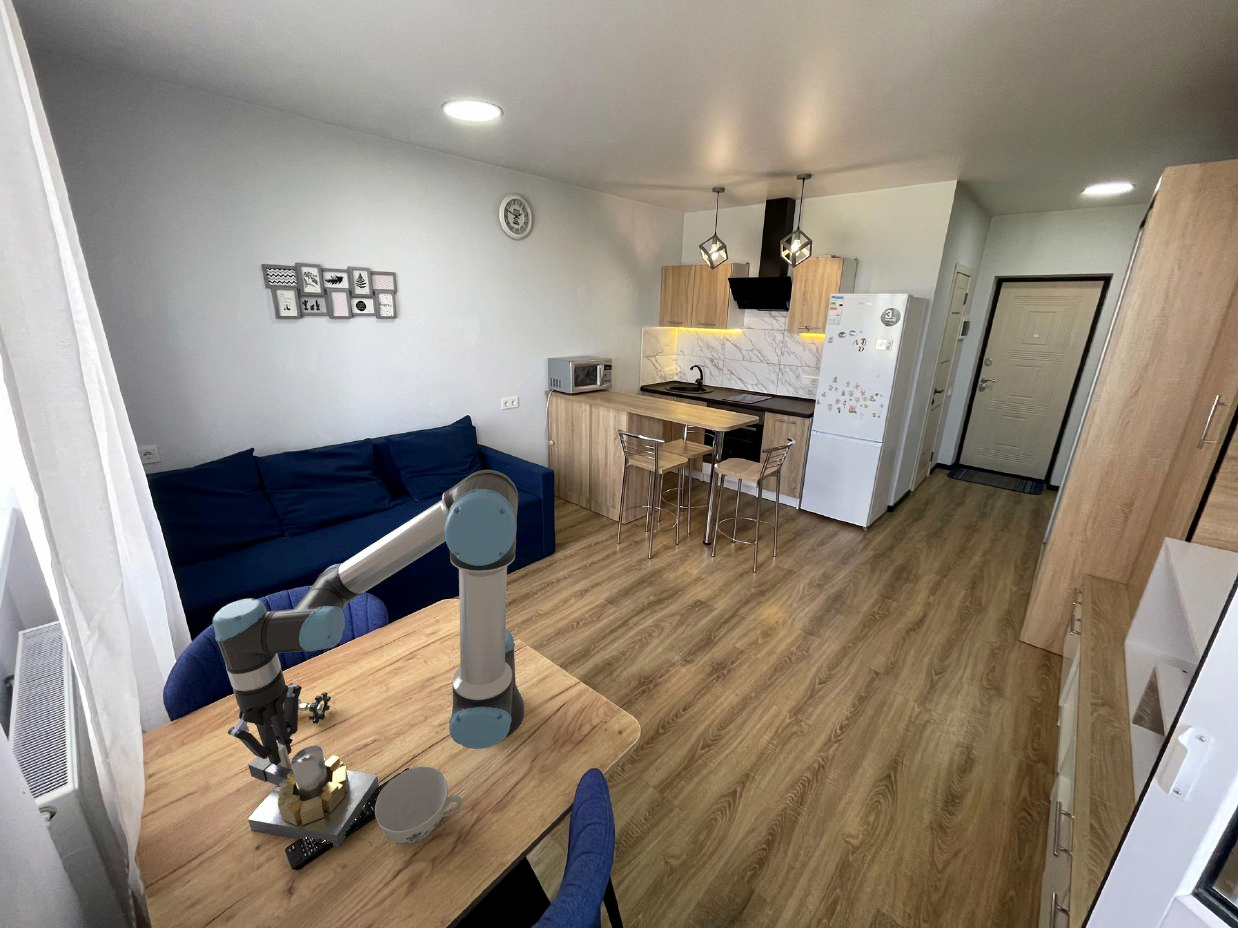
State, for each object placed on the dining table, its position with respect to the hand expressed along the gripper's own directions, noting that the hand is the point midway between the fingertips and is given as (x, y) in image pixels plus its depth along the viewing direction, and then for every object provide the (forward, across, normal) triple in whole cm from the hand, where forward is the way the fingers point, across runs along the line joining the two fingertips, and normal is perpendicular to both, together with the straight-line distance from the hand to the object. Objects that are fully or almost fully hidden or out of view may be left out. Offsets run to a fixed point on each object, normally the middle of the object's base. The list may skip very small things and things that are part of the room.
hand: (285, 769), depth 98 cm
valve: (+5, -13, -14) cm, 20 cm away
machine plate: (+4, +1, +10) cm, 11 cm away
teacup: (+5, -3, +31) cm, 32 cm away
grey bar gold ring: (+1, +1, +5) cm, 5 cm away
